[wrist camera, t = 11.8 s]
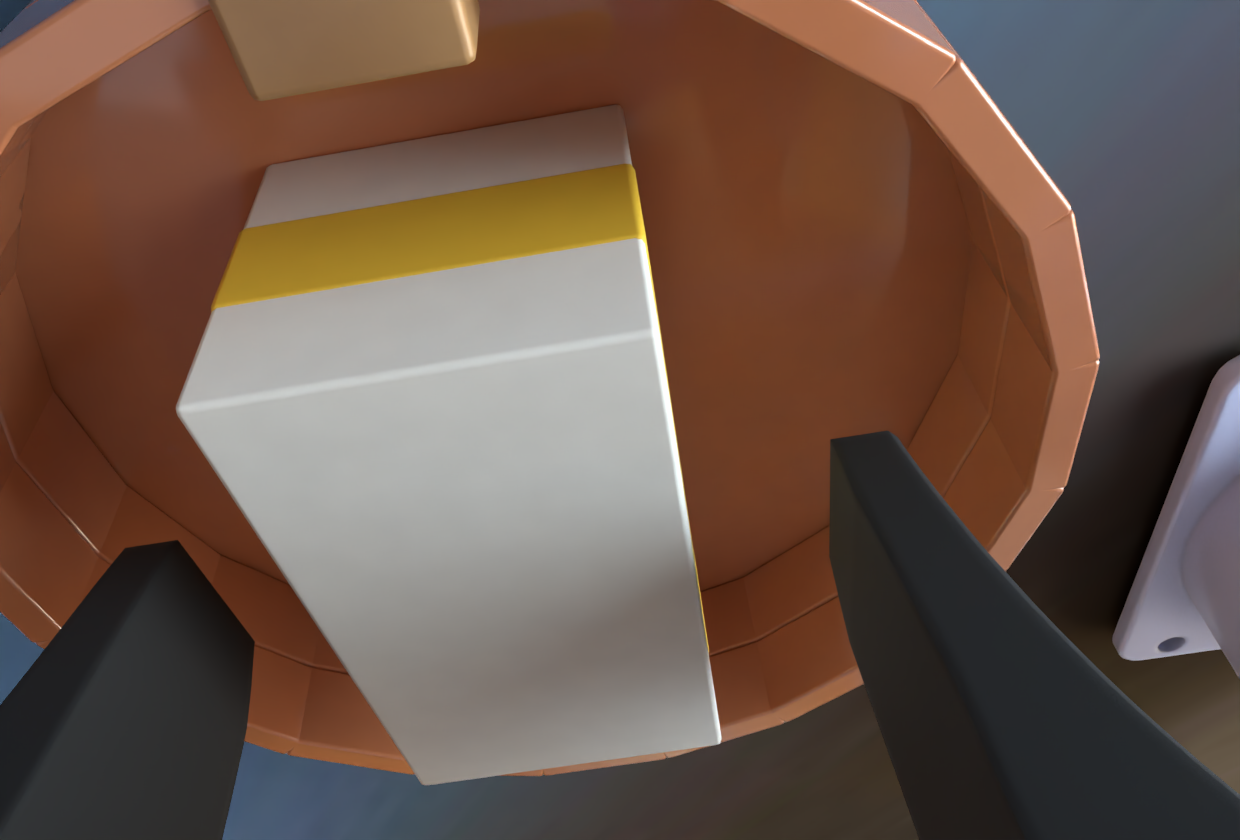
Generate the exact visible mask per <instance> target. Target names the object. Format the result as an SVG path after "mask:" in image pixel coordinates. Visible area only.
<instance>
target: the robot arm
mask: <svg viewBox="0 0 1240 840" xmlns="http://www.w3.org/2000/svg"><path fill="white" fill-rule="evenodd" d="M829 558H830V562H831V566H832V571H833V575H834V579H835V584H836V588H837V592H838V597H839V601H840V605H841V609H842V613H843V617H844V622H845V626H846V630H847V634H848V638H849V642H850V645H851V648H852V651H853V654H854V657H855V659H856V662H857V665H858V668H859V671H860V674H861V677H862V679H863V682H864V685H865V688H866V691H867V694H868V696H869V699H870V702H871V705H872V708H873V711H874V713H875V716H876V719H877V722H878V725H879V727H880V730H881V733H882V736H883V739H884V741H885V744H886V747H887V750H888V753H889V755H890V758H891V761H892V764H893V767H894V769H895V772H896V775H897V778H898V781H899V784H900V786H901V789H902V792H903V795H904V798H905V800H906V803H907V806H908V809H909V812H910V814H911V817H912V820H913V823H914V826H915V828H916V831H917V834H918V837H919V840H1240V795H1239V794H1238V793H1237V792H1235V791H1234V790H1233V789H1232V788H1231V787H1230V786H1228V785H1227V784H1226V783H1225V782H1224V781H1222V780H1221V779H1220V778H1219V777H1218V776H1216V775H1215V774H1214V773H1213V772H1212V771H1211V770H1209V769H1208V768H1207V767H1206V766H1205V765H1203V764H1202V763H1201V762H1200V761H1199V760H1197V759H1196V758H1195V757H1194V756H1193V755H1192V754H1190V753H1189V752H1188V751H1187V750H1186V749H1185V748H1184V747H1183V746H1181V745H1180V744H1179V743H1178V742H1177V741H1176V740H1175V739H1174V738H1172V737H1171V736H1170V735H1169V734H1168V733H1167V732H1166V731H1165V730H1163V729H1162V728H1161V727H1160V726H1159V725H1158V724H1157V723H1156V722H1154V721H1153V720H1152V719H1151V718H1150V717H1149V716H1148V715H1147V714H1145V713H1144V712H1143V711H1142V710H1141V709H1140V708H1139V707H1138V706H1137V705H1136V704H1135V703H1134V702H1133V701H1131V700H1130V699H1129V698H1128V697H1127V696H1126V695H1125V694H1124V693H1123V692H1122V691H1121V690H1120V689H1119V688H1118V687H1117V686H1116V685H1115V684H1114V683H1112V682H1111V681H1110V680H1109V679H1108V678H1107V677H1106V676H1105V675H1104V674H1103V673H1102V672H1101V671H1100V670H1099V669H1098V668H1097V667H1096V666H1095V665H1094V664H1093V663H1092V662H1091V661H1090V660H1089V659H1088V658H1087V657H1086V656H1085V655H1084V654H1083V653H1082V652H1081V651H1080V650H1079V649H1078V648H1077V647H1076V646H1075V645H1074V644H1073V643H1072V642H1071V641H1070V640H1069V639H1068V638H1067V637H1066V636H1065V635H1064V634H1063V633H1062V632H1061V631H1060V630H1059V629H1058V628H1057V627H1056V626H1055V625H1054V624H1053V623H1052V622H1051V621H1050V620H1049V618H1048V617H1047V616H1046V615H1045V614H1044V613H1043V612H1042V611H1041V610H1040V609H1039V608H1038V607H1037V606H1036V605H1035V604H1034V603H1033V602H1032V601H1031V599H1030V598H1029V597H1028V596H1027V595H1026V594H1025V593H1024V592H1023V591H1022V589H1021V588H1020V587H1019V586H1018V585H1017V584H1016V583H1015V582H1014V581H1013V579H1012V578H1011V577H1010V576H1009V575H1008V574H1007V573H1006V572H1005V571H1004V569H1003V568H1002V567H1001V566H1000V565H999V564H998V563H997V562H996V561H995V559H994V558H993V557H992V556H991V555H990V554H989V553H988V552H987V550H986V549H985V548H984V547H983V546H982V545H981V543H980V542H979V541H978V540H977V539H976V538H975V536H974V535H973V534H972V533H971V532H970V531H969V529H968V528H967V527H966V526H965V524H964V523H963V522H962V521H961V520H960V518H959V517H958V516H957V515H956V513H955V512H954V511H953V510H952V509H951V507H950V506H949V505H948V504H947V502H946V501H945V500H944V499H943V497H942V496H941V495H940V494H939V492H938V491H937V490H936V488H935V487H934V486H933V485H932V483H931V482H930V481H929V479H928V478H927V477H926V475H925V474H924V473H923V472H922V470H921V469H920V468H919V466H918V465H917V463H916V462H915V461H914V459H913V458H912V457H911V455H910V454H909V453H908V451H907V450H906V448H905V447H904V445H903V444H902V443H901V441H900V440H899V438H898V437H897V436H895V435H894V434H892V433H891V432H889V431H881V432H875V433H868V434H862V435H855V436H849V437H842V438H836V439H830V526H829ZM1112 642H1113V644H1114V646H1115V648H1116V650H1117V652H1118V654H1119V655H1120V656H1121V657H1122V658H1124V659H1127V660H1132V661H1137V660H1146V659H1154V658H1161V657H1168V656H1175V655H1182V654H1189V653H1196V652H1203V651H1210V650H1217V649H1222V651H1223V653H1224V654H1225V656H1226V658H1227V659H1228V661H1229V663H1230V664H1231V666H1232V668H1233V669H1234V671H1235V673H1236V674H1237V676H1238V677H1239V679H1240V355H1239V356H1237V357H1235V358H1233V359H1231V360H1229V361H1228V362H1227V363H1226V364H1224V365H1223V366H1222V367H1221V368H1220V369H1219V370H1218V372H1217V373H1216V375H1215V376H1214V378H1213V379H1212V381H1211V384H1210V386H1209V389H1208V391H1207V394H1206V397H1205V399H1204V402H1203V404H1202V407H1201V409H1200V412H1199V415H1198V417H1197V420H1196V422H1195V425H1194V427H1193V430H1192V433H1191V435H1190V438H1189V440H1188V443H1187V446H1186V448H1185V451H1184V453H1183V456H1182V458H1181V461H1180V464H1179V466H1178V469H1177V471H1176V474H1175V476H1174V479H1173V482H1172V484H1171V487H1170V489H1169V492H1168V495H1167V497H1166V500H1165V502H1164V505H1163V507H1162V510H1161V513H1160V515H1159V518H1158V520H1157V523H1156V525H1155V528H1154V531H1153V533H1152V536H1151V538H1150V541H1149V544H1148V546H1147V549H1146V551H1145V554H1144V556H1143V559H1142V562H1141V564H1140V567H1139V569H1138V572H1137V574H1136V577H1135V580H1134V582H1133V585H1132V587H1131V590H1130V592H1129V595H1128V598H1127V600H1126V603H1125V605H1124V608H1123V611H1122V613H1121V616H1120V618H1119V621H1118V623H1117V626H1116V629H1115V631H1114V634H1113V636H1112ZM254 645H255V641H254V640H253V638H252V637H251V636H250V634H249V633H248V632H247V630H246V629H245V628H244V626H243V625H242V624H241V623H240V621H239V620H238V619H237V617H236V616H235V615H234V613H233V612H232V611H231V609H230V608H229V607H228V605H227V604H226V603H225V601H224V600H223V599H222V597H221V596H220V595H219V594H218V592H217V591H216V590H215V588H214V587H213V586H212V584H211V583H210V582H209V580H208V579H207V578H206V576H205V575H204V574H203V572H202V571H201V570H200V568H199V567H198V566H197V565H196V563H195V562H194V561H193V559H192V558H191V557H190V555H189V554H188V553H187V551H186V550H185V549H184V547H183V546H182V545H181V543H180V542H179V541H178V540H174V541H167V542H161V543H154V544H148V545H141V546H135V547H128V548H125V549H124V550H123V551H122V552H121V553H120V555H119V556H118V557H117V558H116V559H115V561H114V562H113V563H112V564H111V565H110V567H109V568H108V569H107V570H106V572H105V573H104V574H103V575H102V577H101V578H100V579H99V580H98V582H97V583H96V584H95V585H94V587H93V588H92V589H91V590H90V592H89V593H88V594H87V596H86V597H85V598H84V599H83V601H82V602H81V603H80V604H79V606H78V607H77V608H76V610H75V611H74V612H73V613H72V615H71V616H70V617H69V619H68V620H67V621H66V623H65V624H64V625H63V626H62V628H61V629H60V630H59V632H58V633H57V634H56V635H55V637H54V638H53V639H52V641H51V642H50V643H49V644H48V646H47V647H46V648H45V650H44V651H43V652H42V653H41V655H40V656H39V657H38V659H37V660H36V661H35V662H34V664H33V665H32V666H31V667H30V669H29V670H28V671H27V672H26V674H25V675H24V676H23V677H22V679H21V680H20V681H19V682H18V684H17V685H16V686H15V688H14V689H13V690H12V691H11V693H10V694H9V695H8V696H7V698H6V699H5V700H4V701H3V703H2V704H1V705H0V840H222V837H223V833H224V829H225V824H226V820H227V816H228V812H229V807H230V803H231V799H232V794H233V790H234V785H235V781H236V776H237V772H238V767H239V763H240V758H241V754H242V749H243V745H244V740H245V735H246V730H247V723H248V714H249V705H250V696H251V685H252V672H253V658H254Z"/></svg>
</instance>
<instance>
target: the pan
mask: <svg viewBox="0 0 1240 840" xmlns="http://www.w3.org/2000/svg"><path fill="white" fill-rule="evenodd" d="M478 3H479V7H480V16H479V28H478V40H477V51H476V58H475V60H474V61H473V62H471V63H469V64H468V65H462V66H457V67H451V68H446V69H440V70H434V71H429V72H423V73H417V74H412V75H406V76H401V77H395V78H389V79H384V80H378V81H373V82H367V83H361V84H356V85H350V86H344V87H339V88H333V89H328V90H322V91H316V92H311V93H305V94H300V95H294V96H288V97H283V98H277V99H271V100H266V101H257V100H254V99H253V97H252V96H251V95H250V94H249V92H248V90H247V87H246V85H245V83H244V81H243V78H242V76H241V74H240V72H239V69H238V67H237V65H236V63H235V60H234V58H233V56H232V54H231V51H230V49H229V47H228V44H227V42H226V40H225V38H224V35H223V33H222V31H221V29H220V26H219V24H218V22H217V20H216V17H215V15H214V13H213V11H212V8H211V6H210V4H209V1H208V0H32V1H31V2H30V3H29V4H28V5H27V6H26V7H25V8H24V9H23V10H22V11H21V12H20V13H19V14H18V15H17V16H16V17H15V18H14V19H13V20H12V21H11V22H10V23H9V24H8V25H7V26H6V27H5V29H4V30H3V31H2V32H1V33H0V612H1V613H2V614H3V615H4V616H5V617H6V618H7V619H8V620H9V621H10V622H11V623H12V624H13V625H14V626H15V627H17V628H18V629H19V630H20V631H21V632H22V633H23V634H24V635H25V636H26V637H27V638H28V639H29V640H30V641H31V642H35V643H36V644H37V645H38V646H39V647H41V648H43V649H44V650H45V648H46V647H47V646H48V644H49V643H50V642H51V641H52V639H53V638H54V637H55V635H56V634H57V633H58V632H59V630H60V629H61V628H62V626H63V625H64V624H65V623H66V621H67V620H68V619H69V617H70V616H71V615H72V613H73V612H74V611H75V610H76V608H77V607H78V606H79V604H80V603H81V602H82V601H83V599H84V598H85V597H86V596H87V594H88V593H89V592H90V590H91V589H92V588H93V587H94V585H95V584H96V583H97V582H98V580H99V579H100V578H101V577H102V575H103V574H104V573H105V572H106V570H107V569H108V568H109V567H110V565H111V564H112V563H113V562H114V561H115V559H116V558H117V557H118V556H119V555H120V553H121V552H122V551H123V550H124V549H125V548H128V547H135V546H141V545H148V544H154V543H161V542H167V541H174V540H178V541H179V542H180V543H181V545H182V546H183V547H184V549H185V550H186V551H187V553H188V554H189V555H190V557H191V558H192V559H193V561H194V562H195V563H196V565H197V566H198V567H199V568H200V570H201V571H202V572H203V574H204V575H205V576H206V578H207V579H208V580H209V582H210V583H211V584H212V586H213V587H214V588H215V590H216V591H217V592H218V594H219V595H220V596H221V597H222V599H223V600H224V601H225V603H226V604H227V605H228V607H229V608H230V609H231V611H232V612H233V613H234V615H235V616H236V617H237V619H238V620H239V621H240V623H241V624H242V625H243V626H244V628H245V629H246V630H247V632H248V633H249V634H250V636H251V637H252V638H253V640H254V641H255V645H254V658H253V672H252V685H251V696H250V705H249V714H248V723H247V730H246V735H245V740H244V741H245V742H248V743H251V744H254V745H257V746H260V747H263V748H266V749H269V750H273V751H276V752H279V753H282V754H285V753H287V754H288V755H290V756H296V757H303V758H309V759H316V760H322V761H328V762H335V763H341V764H347V765H354V766H360V767H367V768H373V769H379V770H386V771H392V772H399V773H405V774H411V775H412V774H415V773H414V772H413V770H412V769H411V767H410V766H409V764H408V763H407V761H406V760H405V758H404V757H403V755H402V754H401V752H400V751H399V749H398V748H397V746H396V745H395V743H394V742H393V740H392V739H391V737H390V736H389V734H388V733H387V731H386V730H385V728H384V726H383V725H382V723H381V722H380V720H379V719H378V717H377V716H376V714H375V713H374V711H373V710H372V708H371V707H370V705H369V704H368V702H367V701H366V699H365V698H364V696H363V695H362V693H361V692H360V690H359V689H358V687H357V686H356V684H355V683H354V681H353V680H352V678H351V677H350V675H349V674H348V672H347V671H346V669H345V668H344V666H343V665H342V663H341V662H340V660H339V659H338V657H337V655H336V654H335V652H334V651H333V649H332V648H331V646H330V645H329V643H328V642H327V640H326V639H325V637H324V636H323V634H322V633H321V631H320V630H319V628H318V627H317V625H316V624H315V622H314V621H313V619H312V618H311V616H310V615H309V613H308V612H307V610H306V609H305V607H304V606H303V604H302V603H301V601H300V600H299V598H298V597H297V595H296V594H295V592H294V591H293V589H292V588H291V586H290V585H289V583H288V581H287V580H286V578H285V577H284V575H283V574H282V572H281V571H280V569H279V568H278V566H277V565H276V563H275V562H274V560H273V559H272V557H271V556H270V554H269V553H268V551H267V550H266V548H265V547H264V545H263V544H262V542H261V541H260V539H259V538H258V536H257V535H256V533H255V532H254V530H253V529H252V527H251V526H250V524H249V523H248V521H247V520H246V518H245V517H244V515H243V514H242V512H241V510H240V509H239V507H238V506H237V504H236V503H235V501H234V500H233V498H232V497H231V495H230V494H229V492H228V491H227V489H226V488H225V486H224V485H223V483H222V482H221V480H220V479H219V477H218V476H217V474H216V473H215V471H214V470H213V468H212V467H211V465H210V464H209V462H208V461H207V459H206V458H205V456H204V455H203V453H202V452H201V450H200V449H199V447H198V446H197V444H196V443H195V441H194V439H193V438H192V436H191V435H190V433H189V432H188V430H187V429H186V427H185V426H184V424H183V423H182V421H181V420H180V418H179V417H178V415H177V412H176V404H177V402H178V399H179V397H180V394H181V391H182V389H183V386H184V383H185V381H186V378H187V376H188V373H189V370H190V368H191V365H192V362H193V360H194V357H195V355H196V352H197V349H198V347H199V344H200V341H201V339H202V336H203V334H204V331H205V328H206V326H207V323H208V320H209V318H210V315H211V305H212V303H213V300H214V297H215V295H216V292H217V290H218V287H219V284H220V282H221V279H222V277H223V274H224V271H225V269H226V266H227V264H228V261H229V258H230V256H231V253H232V251H233V248H234V245H235V243H236V240H237V238H238V235H239V232H241V231H242V230H243V229H244V226H245V223H246V221H247V218H248V215H249V213H250V210H251V208H252V205H253V202H254V200H255V197H256V194H257V192H258V189H259V187H260V184H261V181H262V179H263V176H264V173H265V171H266V168H267V167H268V166H270V165H272V164H278V163H283V162H289V161H295V160H301V159H306V158H312V157H318V156H324V155H329V154H335V153H341V152H347V151H352V150H358V149H364V148H369V147H375V146H381V145H387V144H392V143H398V142H404V141H410V140H415V139H421V138H427V137H432V136H438V135H444V134H450V133H455V132H461V131H467V130H473V129H478V128H484V127H490V126H495V125H501V124H507V123H513V122H518V121H524V120H530V119H536V118H541V117H547V116H553V115H558V114H564V113H570V112H576V111H581V110H587V109H593V108H599V107H604V106H610V105H620V106H621V107H622V109H623V112H624V118H625V125H626V131H627V137H628V143H629V149H630V155H631V161H632V167H633V168H634V170H635V173H636V179H637V185H638V191H639V197H640V203H641V209H642V215H643V221H644V227H645V233H646V239H647V246H648V252H649V259H650V265H651V272H652V279H653V285H654V292H655V298H656V305H657V311H658V318H659V325H660V331H661V338H662V344H663V351H664V357H665V364H666V371H667V377H668V384H669V390H670V397H671V403H672V410H673V417H674V423H675V430H676V436H677V443H678V450H679V456H680V463H681V469H682V476H683V482H684V489H685V496H686V502H687V509H688V515H689V522H690V528H691V535H692V542H693V548H694V555H695V561H696V568H697V574H698V581H699V588H700V594H701V601H702V607H703V614H704V621H705V627H706V634H707V640H708V647H709V659H710V665H711V672H712V678H713V685H714V691H715V698H716V705H717V711H718V718H719V724H720V731H721V737H722V739H721V742H725V741H728V740H731V739H735V738H738V737H741V736H745V735H748V734H751V733H755V732H758V731H761V730H765V729H768V728H771V727H775V726H778V725H781V724H783V723H784V722H789V721H791V720H793V719H795V718H797V717H799V716H801V715H803V714H805V713H807V712H809V711H811V710H813V709H815V708H817V707H819V706H821V705H823V704H825V703H827V702H829V701H831V700H833V699H835V698H837V697H839V696H841V695H843V694H845V693H847V692H849V691H851V690H853V689H855V688H857V687H859V686H861V685H863V684H864V682H863V679H862V677H861V674H860V671H859V668H858V665H857V662H856V659H855V657H854V654H853V651H852V648H851V645H850V642H849V638H848V634H847V630H846V626H845V622H844V617H843V613H842V609H841V605H840V601H839V597H838V592H837V588H836V584H835V579H834V575H833V571H832V566H831V562H830V558H829V526H830V439H836V438H842V437H849V436H855V435H862V434H868V433H875V432H881V431H889V432H891V433H892V434H894V435H895V436H897V437H898V438H899V440H900V441H901V443H902V444H903V445H904V447H905V448H906V450H907V451H908V453H909V454H910V455H911V457H912V458H913V459H914V461H915V462H916V463H917V465H918V466H919V468H920V469H921V470H922V472H923V473H924V474H925V475H926V477H927V478H928V479H929V481H930V482H931V483H932V485H933V486H934V487H935V488H936V490H937V491H938V492H939V494H940V495H941V496H942V497H943V499H944V500H945V501H946V502H947V504H948V505H949V506H950V507H951V509H952V510H953V511H954V512H955V513H956V515H957V516H958V517H959V518H960V520H961V521H962V522H963V523H964V524H965V526H966V527H967V528H968V529H969V531H970V532H971V533H972V534H973V535H974V536H975V538H976V539H977V540H978V541H979V542H980V543H981V545H982V546H983V547H984V548H985V549H986V550H987V552H988V553H989V554H990V555H991V556H992V557H993V558H994V559H995V561H996V562H997V563H998V564H999V565H1000V566H1001V567H1002V568H1003V569H1004V571H1005V572H1006V571H1007V569H1008V568H1009V567H1010V565H1011V564H1012V562H1013V561H1014V560H1015V558H1016V557H1017V556H1018V554H1019V553H1020V551H1021V550H1022V549H1023V547H1024V546H1025V544H1026V543H1027V542H1028V540H1029V539H1030V537H1031V536H1032V535H1033V533H1034V532H1035V530H1036V529H1037V528H1038V526H1039V525H1040V524H1041V522H1042V521H1043V519H1044V518H1045V517H1046V515H1047V514H1048V512H1049V511H1050V510H1051V508H1052V507H1053V505H1054V504H1055V503H1056V501H1057V500H1058V499H1059V497H1060V496H1061V494H1062V493H1063V491H1064V487H1065V486H1066V485H1067V482H1068V478H1069V475H1070V471H1071V467H1072V464H1073V460H1074V456H1075V453H1076V449H1077V445H1078V442H1079V438H1080V434H1081V431H1082V427H1083V423H1084V420H1085V416H1086V412H1087V409H1088V405H1089V401H1090V398H1091V394H1092V390H1093V387H1094V383H1095V379H1096V376H1097V372H1098V368H1099V358H1100V352H1099V346H1098V341H1097V335H1096V330H1095V324H1094V319H1093V313H1092V307H1091V302H1090V296H1089V291H1088V285H1087V280H1086V274H1085V268H1084V263H1083V257H1082V252H1081V246H1080V241H1079V235H1078V230H1077V224H1076V218H1075V213H1074V212H1073V211H1072V210H1071V204H1070V203H1069V201H1068V200H1067V199H1066V197H1065V196H1064V195H1063V193H1062V192H1061V191H1060V189H1059V188H1058V187H1057V185H1056V184H1055V183H1054V181H1053V180H1052V179H1051V177H1050V176H1049V175H1048V173H1047V172H1046V171H1045V169H1044V168H1043V167H1042V165H1041V164H1040V163H1039V161H1038V160H1037V159H1036V157H1035V156H1034V155H1033V153H1032V152H1031V150H1030V149H1029V148H1028V146H1027V145H1026V144H1025V142H1024V141H1023V140H1022V138H1021V137H1020V136H1019V134H1018V133H1017V132H1016V130H1015V129H1014V128H1013V126H1012V125H1011V124H1010V122H1009V121H1008V120H1007V118H1006V117H1005V116H1004V114H1003V113H1002V112H1001V110H1000V109H999V108H998V106H997V105H996V104H995V102H994V101H993V100H992V98H991V97H990V96H989V94H988V93H987V92H986V90H985V89H984V88H983V86H982V85H981V84H980V82H979V81H978V80H977V78H976V77H975V76H974V74H973V73H972V72H971V70H970V69H969V68H968V66H967V65H966V63H965V62H964V61H963V60H962V58H961V57H960V56H959V54H958V53H957V52H956V51H955V49H954V48H953V47H952V45H951V44H950V43H949V42H948V40H947V39H946V38H945V36H944V35H943V34H942V33H941V31H940V30H939V29H938V27H937V26H936V25H935V24H934V22H933V21H932V20H931V19H930V17H929V16H928V15H927V13H926V12H925V11H924V10H923V8H922V7H921V6H920V5H919V3H918V2H917V1H916V0H478ZM705 747H708V746H705ZM705 747H698V748H691V749H683V750H676V751H669V752H662V753H655V754H648V755H640V756H633V757H626V758H619V759H612V760H605V761H598V762H590V763H583V764H576V765H569V766H562V767H555V768H548V769H540V770H533V771H526V772H519V773H512V774H505V775H497V776H541V775H543V774H544V775H546V776H547V775H555V774H562V773H569V772H576V771H583V770H590V769H598V768H605V767H612V766H619V765H626V764H634V763H641V762H648V761H655V760H662V759H665V758H666V757H667V758H672V757H675V756H678V755H682V754H685V753H688V752H692V751H695V750H698V749H702V748H705Z"/></svg>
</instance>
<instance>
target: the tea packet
mask: <svg viewBox="0 0 1240 840" xmlns="http://www.w3.org/2000/svg"><path fill="white" fill-rule="evenodd" d="M176 412H177V415H178V417H179V418H180V420H181V421H182V423H183V424H184V426H185V427H186V429H187V430H188V432H189V433H190V435H191V436H192V438H193V439H194V441H195V443H196V444H197V446H198V447H199V449H200V450H201V452H202V453H203V455H204V456H205V458H206V459H207V461H208V462H209V464H210V465H211V467H212V468H213V470H214V471H215V473H216V474H217V476H218V477H219V479H220V480H221V482H222V483H223V485H224V486H225V488H226V489H227V491H228V492H229V494H230V495H231V497H232V498H233V500H234V501H235V503H236V504H237V506H238V507H239V509H240V510H241V512H242V514H243V515H244V517H245V518H246V520H247V521H248V523H249V524H250V526H251V527H252V529H253V530H254V532H255V533H256V535H257V536H258V538H259V539H260V541H261V542H262V544H263V545H264V547H265V548H266V550H267V551H268V553H269V554H270V556H271V557H272V559H273V560H274V562H275V563H276V565H277V566H278V568H279V569H280V571H281V572H282V574H283V575H284V577H285V578H286V580H287V581H288V583H289V585H290V586H291V588H292V589H293V591H294V592H295V594H296V595H297V597H298V598H299V600H300V601H301V603H302V604H303V606H304V607H305V609H306V610H307V612H308V613H309V615H310V616H311V618H312V619H313V621H314V622H315V624H316V625H317V627H318V628H319V630H320V631H321V633H322V634H323V636H324V637H325V639H326V640H327V642H328V643H329V645H330V646H331V648H332V649H333V651H334V652H335V654H336V655H337V657H338V659H339V660H340V662H341V663H342V665H343V666H344V668H345V669H346V671H347V672H348V674H349V675H350V677H351V678H352V680H353V681H354V683H355V684H356V686H357V687H358V689H359V690H360V692H361V693H362V695H363V696H364V698H365V699H366V701H367V702H368V704H369V705H370V707H371V708H372V710H373V711H374V713H375V714H376V716H377V717H378V719H379V720H380V722H381V723H382V725H383V726H384V728H385V730H386V731H387V733H388V734H389V736H390V737H391V739H392V740H393V742H394V743H395V745H396V746H397V748H398V749H399V751H400V752H401V754H402V755H403V757H404V758H405V760H406V761H407V763H408V764H409V766H410V767H411V769H412V770H413V772H414V773H415V775H416V776H417V778H418V779H419V781H420V782H421V784H422V785H433V784H440V783H447V782H455V781H462V780H469V779H476V778H483V777H490V776H497V775H505V774H512V773H519V772H526V771H533V770H540V769H548V768H555V767H562V766H569V765H576V764H583V763H590V762H598V761H605V760H612V759H619V758H626V757H633V756H640V755H648V754H655V753H662V752H669V751H676V750H683V749H691V748H698V747H705V746H712V745H718V744H720V743H721V739H722V737H721V731H720V724H719V718H718V711H717V705H716V698H715V691H714V685H713V678H712V672H711V665H710V659H709V647H708V640H707V634H706V627H705V621H704V614H703V607H702V601H701V594H700V588H699V581H698V574H697V568H696V561H695V555H694V548H693V542H692V535H691V528H690V522H689V515H688V509H687V502H686V496H685V489H684V482H683V476H682V469H681V463H680V456H679V450H678V443H677V436H676V430H675V423H674V417H673V410H672V403H671V397H670V390H669V384H668V377H667V371H666V364H665V357H664V351H663V344H662V338H661V331H660V325H659V318H658V311H657V305H656V298H655V292H654V285H653V279H652V272H651V265H650V259H649V252H648V246H647V239H646V233H645V227H644V221H643V215H642V209H641V203H640V197H639V191H638V185H637V179H636V173H635V170H634V168H633V167H632V161H631V155H630V149H629V143H628V137H627V131H626V125H625V118H624V112H623V109H622V107H621V106H620V105H610V106H604V107H599V108H593V109H587V110H581V111H576V112H570V113H564V114H558V115H553V116H547V117H541V118H536V119H530V120H524V121H518V122H513V123H507V124H501V125H495V126H490V127H484V128H478V129H473V130H467V131H461V132H455V133H450V134H444V135H438V136H432V137H427V138H421V139H415V140H410V141H404V142H398V143H392V144H387V145H381V146H375V147H369V148H364V149H358V150H352V151H347V152H341V153H335V154H329V155H324V156H318V157H312V158H306V159H301V160H295V161H289V162H283V163H278V164H272V165H270V166H268V167H267V168H266V171H265V173H264V176H263V179H262V181H261V184H260V187H259V189H258V192H257V194H256V197H255V200H254V202H253V205H252V208H251V210H250V213H249V215H248V218H247V221H246V223H245V226H244V229H243V230H242V231H241V232H239V235H238V238H237V240H236V243H235V245H234V248H233V251H232V253H231V256H230V258H229V261H228V264H227V266H226V269H225V271H224V274H223V277H222V279H221V282H220V284H219V287H218V290H217V292H216V295H215V297H214V300H213V303H212V305H211V315H210V318H209V320H208V323H207V326H206V328H205V331H204V334H203V336H202V339H201V341H200V344H199V347H198V349H197V352H196V355H195V357H194V360H193V362H192V365H191V368H190V370H189V373H188V376H187V378H186V381H185V383H184V386H183V389H182V391H181V394H180V397H179V399H178V402H177V404H176Z"/></svg>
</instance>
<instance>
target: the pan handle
mask: <svg viewBox="0 0 1240 840" xmlns="http://www.w3.org/2000/svg"><path fill="white" fill-rule="evenodd" d="M208 1H209V4H210V6H211V8H212V11H213V13H214V15H215V17H216V20H217V22H218V24H219V26H220V29H221V31H222V33H223V35H224V38H225V40H226V42H227V44H228V47H229V49H230V51H231V54H232V56H233V58H234V60H235V63H236V65H237V67H238V69H239V72H240V74H241V76H242V78H243V81H244V83H245V85H246V87H247V90H248V92H249V94H250V95H251V96H252V97H253V99H254V100H257V101H266V100H271V99H277V98H283V97H288V96H294V95H300V94H305V93H311V92H316V91H322V90H328V89H333V88H339V87H344V86H350V85H356V84H361V83H367V82H373V81H378V80H384V79H389V78H395V77H401V76H406V75H412V74H417V73H423V72H429V71H434V70H440V69H446V68H451V67H457V66H462V65H468V64H469V63H471V62H473V61H474V60H475V58H476V51H477V40H478V28H479V16H480V7H479V3H478V0H208Z"/></svg>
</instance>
